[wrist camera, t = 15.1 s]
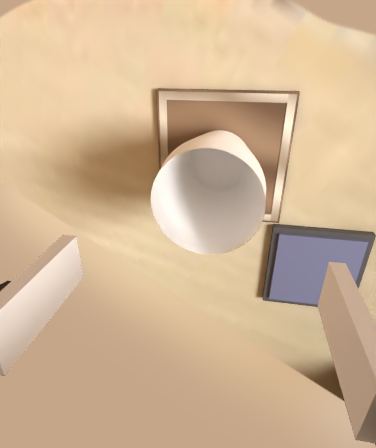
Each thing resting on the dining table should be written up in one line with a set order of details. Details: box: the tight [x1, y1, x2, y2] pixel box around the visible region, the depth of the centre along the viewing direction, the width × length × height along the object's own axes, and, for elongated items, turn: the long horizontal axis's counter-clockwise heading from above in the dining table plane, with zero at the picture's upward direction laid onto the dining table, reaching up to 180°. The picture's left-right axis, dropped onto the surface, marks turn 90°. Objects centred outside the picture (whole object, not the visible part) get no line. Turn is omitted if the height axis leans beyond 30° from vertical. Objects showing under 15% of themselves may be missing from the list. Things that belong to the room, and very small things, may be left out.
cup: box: [151, 130, 266, 254], centre depth 29 cm, size 9×9×12 cm
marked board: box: [157, 88, 300, 223], centre depth 34 cm, size 14×14×1 cm
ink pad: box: [263, 224, 376, 307], centre depth 38 cm, size 11×11×1 cm
